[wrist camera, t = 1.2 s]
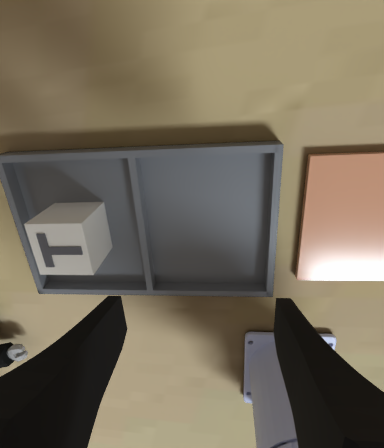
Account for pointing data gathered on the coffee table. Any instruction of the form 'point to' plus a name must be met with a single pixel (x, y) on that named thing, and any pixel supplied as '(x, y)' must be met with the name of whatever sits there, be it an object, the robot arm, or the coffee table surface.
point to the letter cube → (70, 238)
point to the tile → (342, 218)
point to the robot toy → (11, 353)
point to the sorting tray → (160, 215)
